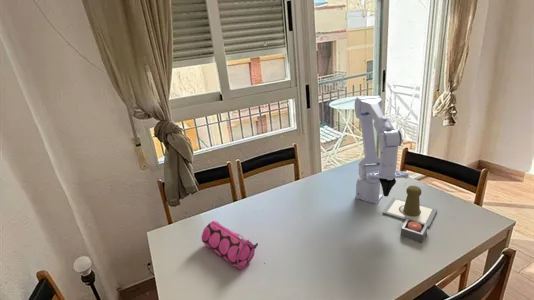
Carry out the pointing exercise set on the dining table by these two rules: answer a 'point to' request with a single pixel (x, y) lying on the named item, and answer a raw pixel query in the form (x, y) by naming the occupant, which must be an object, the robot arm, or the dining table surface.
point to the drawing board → (397, 212)
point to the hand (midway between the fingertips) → (385, 195)
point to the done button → (414, 226)
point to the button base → (414, 234)
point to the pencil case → (228, 244)
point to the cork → (412, 201)
